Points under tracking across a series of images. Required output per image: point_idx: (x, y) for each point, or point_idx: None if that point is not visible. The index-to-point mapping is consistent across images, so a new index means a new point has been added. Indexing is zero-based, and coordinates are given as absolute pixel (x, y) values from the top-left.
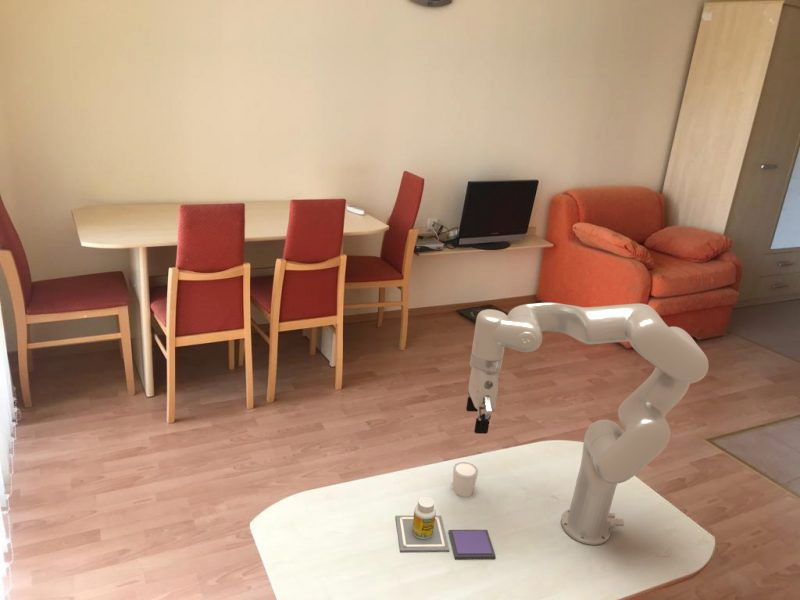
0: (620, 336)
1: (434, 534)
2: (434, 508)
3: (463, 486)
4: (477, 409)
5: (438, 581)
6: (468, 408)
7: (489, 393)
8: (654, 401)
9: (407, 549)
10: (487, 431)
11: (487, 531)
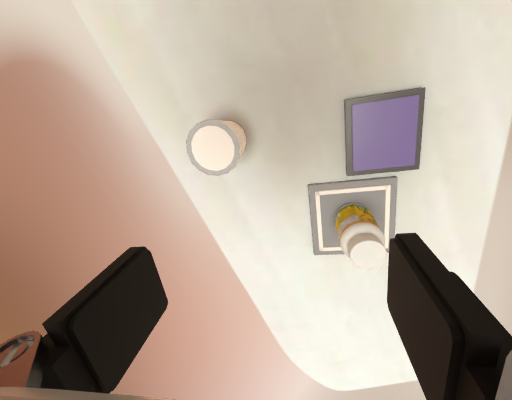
0: None
1: (357, 199)
2: (362, 229)
3: (243, 147)
4: (142, 262)
5: (465, 197)
6: (157, 315)
7: None
8: None
9: None
10: (420, 240)
11: (351, 99)
